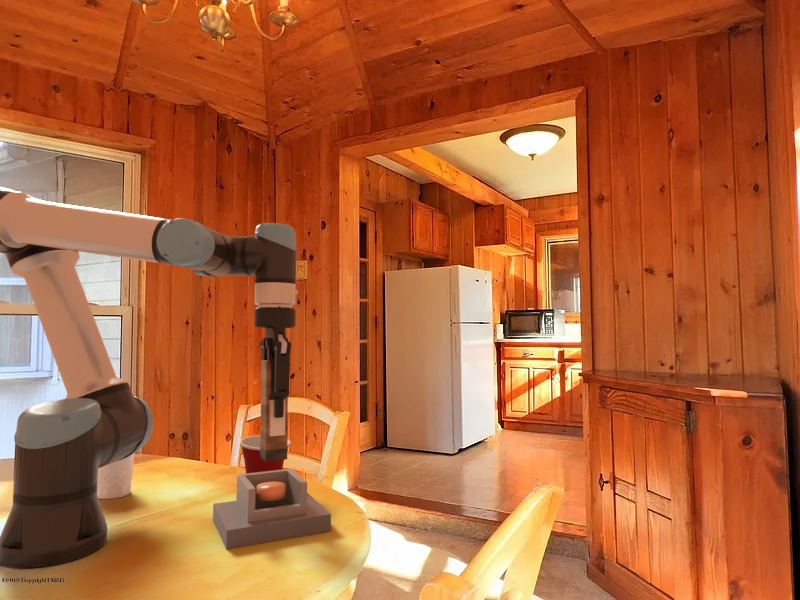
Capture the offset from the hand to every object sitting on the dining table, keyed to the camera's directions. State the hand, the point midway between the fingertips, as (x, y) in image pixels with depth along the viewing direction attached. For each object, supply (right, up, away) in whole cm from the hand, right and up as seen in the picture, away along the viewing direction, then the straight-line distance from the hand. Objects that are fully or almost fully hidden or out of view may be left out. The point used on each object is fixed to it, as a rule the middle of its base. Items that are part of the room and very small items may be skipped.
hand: (273, 432), depth 99 cm
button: (0, -12, -1) cm, 12 cm away
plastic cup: (-6, -18, +16) cm, 25 cm away
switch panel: (-1, -17, -1) cm, 17 cm away
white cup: (-39, -18, +17) cm, 46 cm away
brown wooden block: (0, -5, 0) cm, 5 cm away
